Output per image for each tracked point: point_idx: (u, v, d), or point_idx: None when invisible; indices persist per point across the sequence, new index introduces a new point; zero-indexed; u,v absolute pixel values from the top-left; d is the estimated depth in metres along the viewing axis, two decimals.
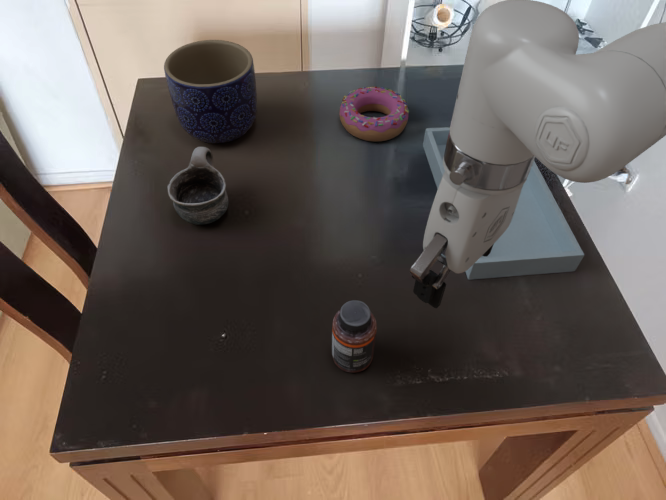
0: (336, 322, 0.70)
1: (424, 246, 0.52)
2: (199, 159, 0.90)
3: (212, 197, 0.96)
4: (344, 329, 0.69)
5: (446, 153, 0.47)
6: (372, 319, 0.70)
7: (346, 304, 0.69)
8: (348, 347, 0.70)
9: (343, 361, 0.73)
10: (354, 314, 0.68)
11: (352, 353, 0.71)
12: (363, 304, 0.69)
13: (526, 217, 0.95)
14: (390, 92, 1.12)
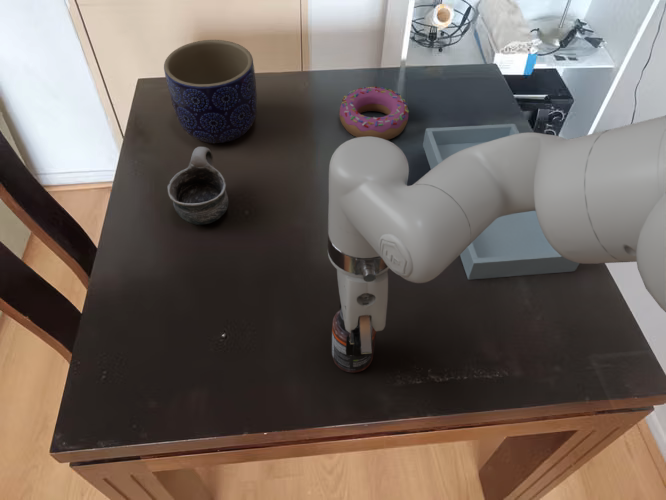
0: (336, 322, 0.70)
1: (350, 329, 0.62)
2: (199, 159, 0.90)
3: (212, 197, 0.96)
4: (344, 329, 0.69)
5: (341, 263, 0.56)
6: None
7: None
8: None
9: (343, 361, 0.73)
10: None
11: None
12: None
13: (526, 217, 0.95)
14: (390, 92, 1.12)
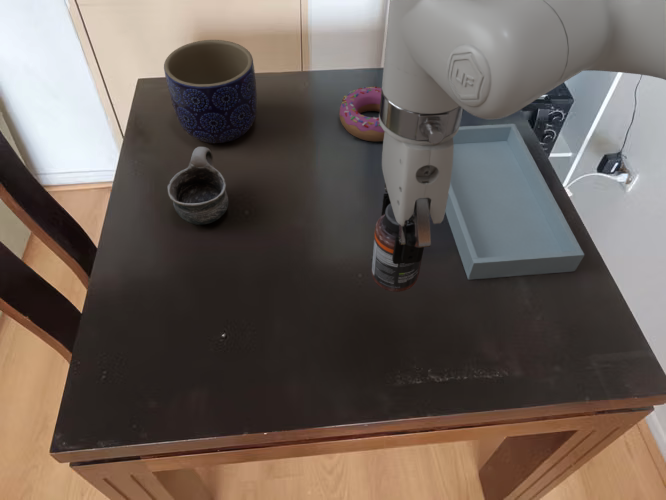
0: (380, 226, 0.61)
1: (404, 220, 0.53)
2: (199, 159, 0.90)
3: (212, 197, 0.96)
4: (390, 232, 0.59)
5: (398, 126, 0.47)
6: None
7: None
8: None
9: (386, 276, 0.64)
10: None
11: None
12: None
13: (526, 217, 0.95)
14: None
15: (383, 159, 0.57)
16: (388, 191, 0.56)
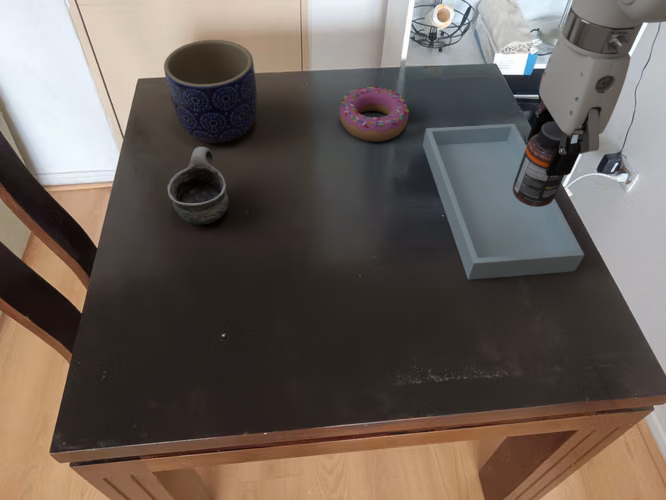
0: (534, 144, 0.70)
1: (573, 129, 0.62)
2: (199, 159, 0.90)
3: (212, 197, 0.96)
4: (545, 148, 0.69)
5: (587, 41, 0.56)
6: None
7: (546, 124, 0.69)
8: None
9: (533, 190, 0.73)
10: (557, 131, 0.68)
11: (548, 177, 0.71)
12: None
13: (526, 217, 0.95)
14: (390, 92, 1.12)
15: (546, 82, 0.66)
16: (552, 108, 0.66)
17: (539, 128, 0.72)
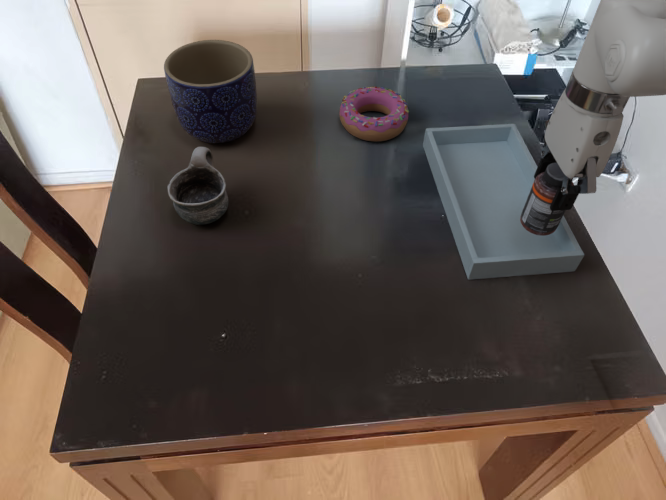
0: (539, 182, 0.80)
1: (574, 173, 0.72)
2: (199, 159, 0.90)
3: (212, 197, 0.96)
4: (550, 186, 0.79)
5: (586, 103, 0.66)
6: None
7: (551, 165, 0.79)
8: None
9: (538, 222, 0.83)
10: (560, 172, 0.78)
11: (551, 211, 0.81)
12: None
13: None
14: (390, 92, 1.12)
15: (551, 130, 0.76)
16: (555, 154, 0.75)
17: (544, 167, 0.82)
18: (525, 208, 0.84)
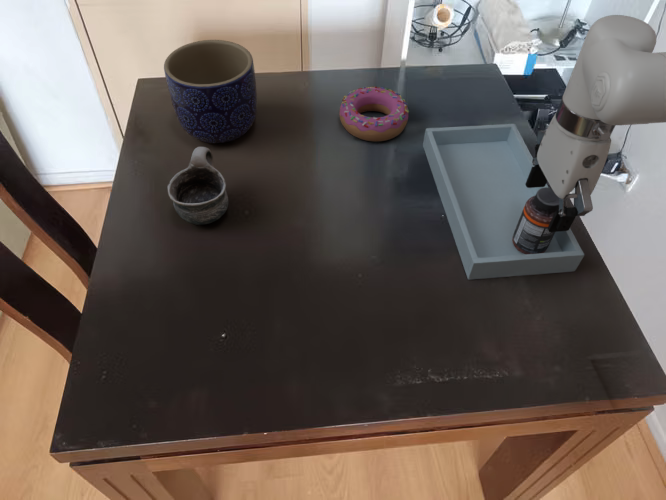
0: (530, 206, 0.84)
1: (565, 194, 0.75)
2: (199, 159, 0.90)
3: (212, 197, 0.96)
4: (540, 210, 0.82)
5: (575, 128, 0.69)
6: None
7: (541, 190, 0.83)
8: (541, 227, 0.83)
9: (529, 243, 0.87)
10: (549, 197, 0.82)
11: (541, 233, 0.84)
12: None
13: None
14: (390, 92, 1.12)
15: (542, 151, 0.79)
16: (547, 174, 0.78)
17: (535, 176, 0.85)
18: (517, 229, 0.88)
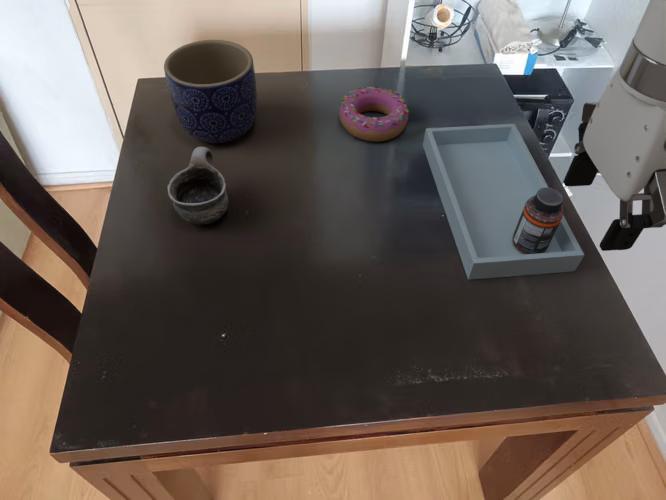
0: (530, 206, 0.84)
1: (631, 194, 0.49)
2: (199, 159, 0.90)
3: (212, 197, 0.96)
4: (540, 210, 0.82)
5: (656, 87, 0.43)
6: None
7: (541, 190, 0.83)
8: (541, 227, 0.83)
9: (529, 243, 0.87)
10: (549, 197, 0.82)
11: (541, 233, 0.84)
12: (555, 190, 0.83)
13: None
14: (390, 92, 1.12)
15: (593, 131, 0.53)
16: (601, 165, 0.52)
17: (579, 169, 0.59)
18: (517, 229, 0.88)
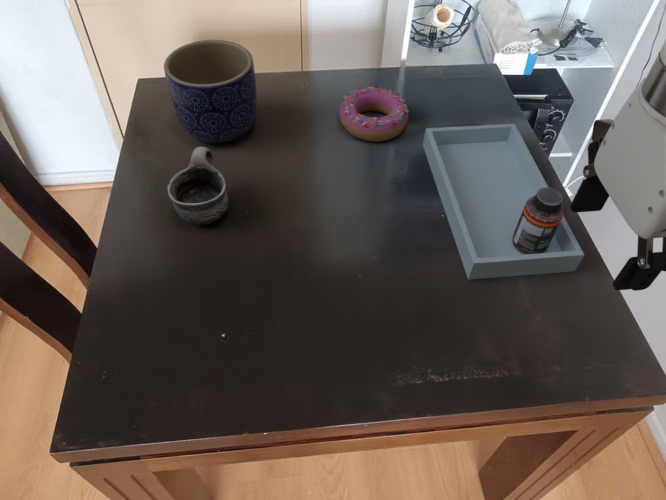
0: (530, 206, 0.84)
1: (652, 232, 0.42)
2: (199, 159, 0.90)
3: (212, 197, 0.96)
4: (540, 210, 0.82)
5: None
6: None
7: (541, 190, 0.83)
8: (541, 227, 0.83)
9: (529, 243, 0.87)
10: (549, 197, 0.82)
11: (541, 233, 0.84)
12: (555, 190, 0.83)
13: None
14: (390, 92, 1.12)
15: (607, 155, 0.46)
16: (616, 195, 0.46)
17: (588, 194, 0.52)
18: (517, 229, 0.88)
